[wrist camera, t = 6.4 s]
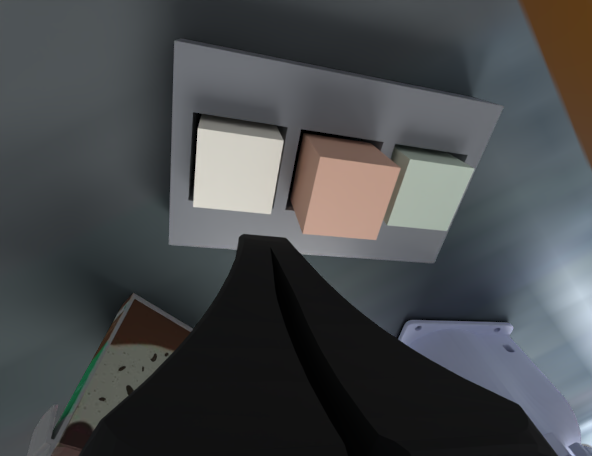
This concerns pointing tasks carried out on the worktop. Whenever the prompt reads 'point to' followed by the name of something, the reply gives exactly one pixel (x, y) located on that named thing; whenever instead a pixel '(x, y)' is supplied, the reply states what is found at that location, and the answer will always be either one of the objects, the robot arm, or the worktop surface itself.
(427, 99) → the key console
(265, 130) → the key cream
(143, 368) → the half round cake
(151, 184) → the worktop surface
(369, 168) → the key terracotta
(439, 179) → the key sage
